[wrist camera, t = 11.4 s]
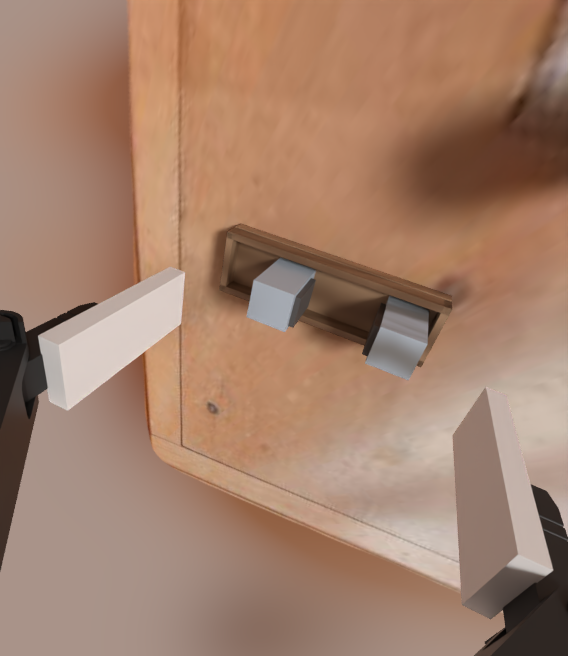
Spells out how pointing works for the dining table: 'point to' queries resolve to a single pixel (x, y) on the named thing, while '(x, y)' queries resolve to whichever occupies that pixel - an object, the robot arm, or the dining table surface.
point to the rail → (346, 299)
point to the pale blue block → (281, 294)
